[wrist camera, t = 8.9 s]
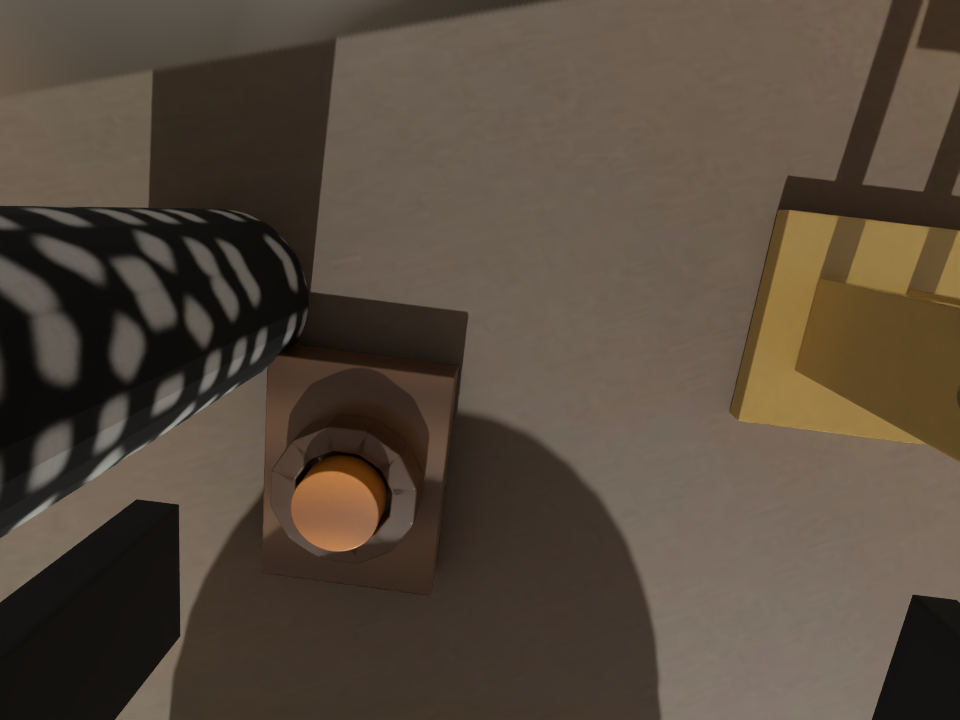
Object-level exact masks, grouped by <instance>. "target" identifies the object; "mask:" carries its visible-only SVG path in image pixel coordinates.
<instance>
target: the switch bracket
mask: <svg viewBox="0 0 960 720" xmlns="http://www.w3.org/2000/svg"><path fill="white" fill-rule="evenodd" d="M730 413H731V414H732V415H733V416H734V417H735V418H736V419H737V420H738V421H745V422H753V423H761V424H768V425H776V426H784V427H791V428H799V429H807V430H815V431H822V432H830V433H838V434H846V435H853V436H861V437H869V438H877V439H884V440H892V441H900V442H907V443H915V444H923V445H924V444H925V443H926V444H928V445H929V446H931V447H933V448H935V449H937V450H938V451H940V452H942V453H944V454H946V455H947V456H949V457H951V458H953V459H955V460H956V461H958V462H960V230H953V229H945V228H937V227H928V226H920V225H912V224H904V223H896V222H887V221H879V220H871V219H863V218H855V217H846V216H838V215H830V214H822V213H813V212H805V211H797V210H778V213H777V217H776V221H775V225H774V229H773V234H772V238H771V242H770V246H769V250H768V254H767V259H766V263H765V267H764V271H763V275H762V279H761V284H760V288H759V292H758V296H757V300H756V304H755V309H754V313H753V317H752V321H751V325H750V329H749V334H748V338H747V342H746V346H745V350H744V354H743V359H742V363H741V367H740V371H739V375H738V379H737V384H736V388H735V392H734V396H733V400H732V404H731V409H730Z"/></svg>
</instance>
